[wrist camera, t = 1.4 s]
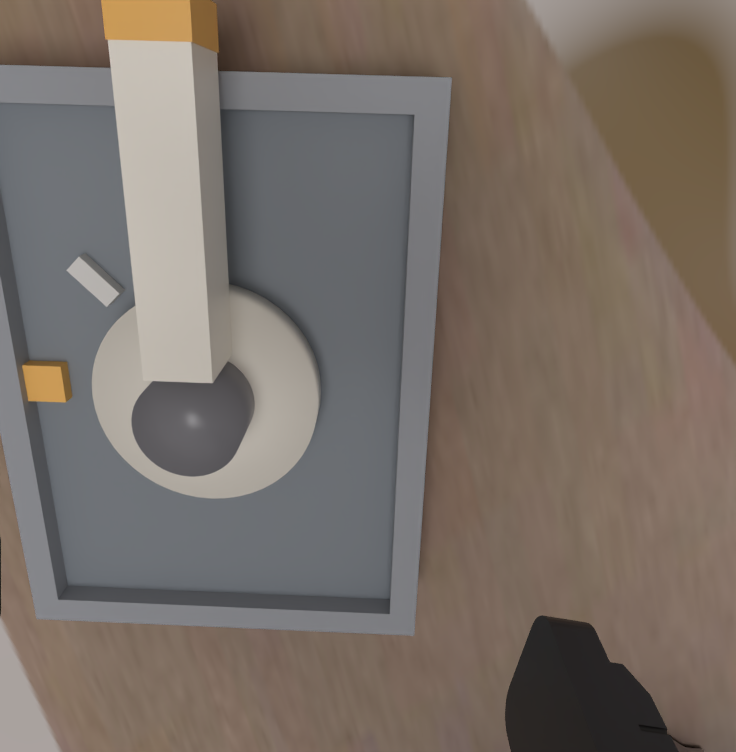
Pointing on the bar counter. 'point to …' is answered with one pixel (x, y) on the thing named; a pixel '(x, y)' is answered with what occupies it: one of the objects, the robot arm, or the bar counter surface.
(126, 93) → the white lever with disc
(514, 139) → the bar counter surface
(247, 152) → the grey tray
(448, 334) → the bar counter surface
